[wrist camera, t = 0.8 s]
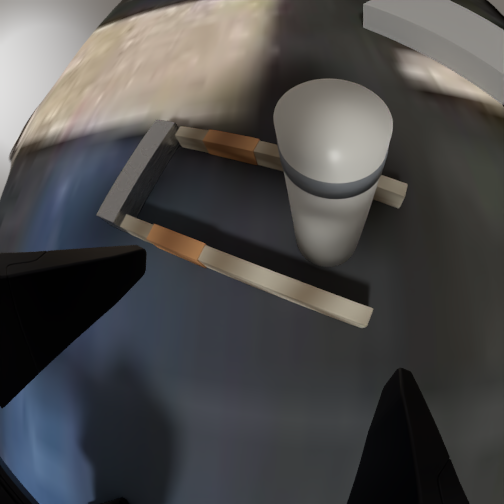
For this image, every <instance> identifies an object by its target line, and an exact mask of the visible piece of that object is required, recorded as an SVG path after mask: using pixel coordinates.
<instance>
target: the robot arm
mask: <svg viewBox="0 0 504 504" xmlns="http://www.w3.org/2000/svg"><path fill="white" fill-rule="evenodd" d="M145 270H146V250H145V249H143V248H141V247H139V246H137V245H130V246H113V247H98V248H83V249H68V250H54V251H39V252H19V253H0V406H1V408H3V407H5V406H6V405H7V404H8V403H9V402H10V401H11V400H12V399H13V398H14V397H15V396H16V395H17V394H18V393H19V392H20V391H21V390H22V389H23V388H24V387H25V386H26V385H27V384H28V383H29V382H31V381H32V380H33V379H34V378H35V377H36V376H37V375H38V374H39V373H40V372H41V371H42V370H43V369H44V368H45V367H46V366H47V365H48V364H49V363H50V362H51V361H53V360H54V359H55V358H56V357H57V356H58V355H59V354H60V353H61V352H62V351H63V350H64V349H66V348H67V347H68V346H69V345H70V344H71V343H72V342H73V341H74V340H75V339H77V338H78V337H79V336H80V335H81V334H82V333H83V332H84V331H86V330H87V329H88V328H89V327H90V326H91V325H92V324H93V323H95V322H96V321H97V320H98V319H99V318H100V317H101V316H103V315H104V314H105V313H106V312H107V311H108V310H109V309H111V308H112V307H113V306H114V305H115V304H116V303H117V302H118V301H119V300H120V299H121V298H122V297H123V296H124V295H125V294H126V293H127V292H128V291H129V290H130V289H131V288H132V287H133V286H134V285H135V284H136V283H137V282H138V281H139V279H140V278H141V277H142V276H143V275H144V273H145ZM449 458H450V457H449V454H448V452H447V449H446V447H445V445H444V442H443V440H442V437H441V435H440V433H439V430H438V428H437V426H436V424H435V421H434V419H433V417H432V415H431V412H430V410H429V408H428V406H427V404H426V402H425V399H424V397H423V395H422V393H421V391H420V389H419V387H418V385H417V383H416V381H415V379H414V377H413V375H412V373H411V372H410V371H408V370H406V369H403V368H398V369H397V370H396V371H395V373H394V374H393V375H392V377H391V378H390V379H389V381H388V382H387V383H386V385H385V386H384V388H383V390H382V393H381V396H380V399H379V402H378V405H377V408H376V411H375V414H374V417H373V420H372V423H371V425H370V428H369V431H368V435H367V438H366V442H365V446H364V450H363V453H362V457H361V461H360V464H359V468H358V471H357V474H356V477H355V481H354V484H353V487H352V490H351V493H350V496H349V499H348V502H347V504H469V501H468V499H467V497H466V495H465V493H464V490H463V488H462V486H461V484H460V482H459V479H458V477H457V474H456V472H455V469H454V467H453V464H452V462H451V460H450V459H449ZM121 501H122V502H123V503H122V502H121ZM0 504H39V503H38V502H37V501H36V500H35V498H34V497H33V496H32V495H31V494H30V493H29V492H28V491H27V490H26V488H25V487H24V486H23V485H22V484H21V483H20V481H19V480H18V479H17V478H16V476H15V475H14V474H13V473H12V472H11V470H10V469H9V468H8V466H7V465H6V464H5V462H4V461H3V460H2V458H1V457H0ZM101 504H129V503H128V502H127V500H126V499H124V498H118V499H114V500H111V501H108V502H104V503H101Z"/></svg>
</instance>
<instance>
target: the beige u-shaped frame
mask: <svg viewBox="0 0 504 504" xmlns="http://www.w3.org/2000/svg"><path fill="white" fill-rule="evenodd" d="M179 145H181V146H182V147H183V148H188V149H193V150H197V151H202V152H207V153H209V154H211V155H216V156H220V157H225V158H229V159H233V160H237V161H241V162H245V163H249V164H253V165H261V166H265V167H269V168H272V169H276V170H280V171H283V172H284V170H283V168H282V165H281V161H280V156H279V151H278V146H277V145H276V144H272V143H268V142H263V141H260V139H257V138H252V137H248V136H243V135H238V134H233V133H228V132H222V131H217V130H211V129H210V130H209V131H208V130H203V129H197V128H191V127H184V126H180V128H178V126H177V125H176V123H175V122H170V121H162V120H156V121H155V122H154V124H153V125H152V126H151V128H150V129H149V131H148V132H147V133H146V135H145V136H144V138H143V139H142V141H141V142H140V144H139V145H138V147H137V148H136V150H135V151H134V153H133V154H132V156H131V157H130V159H129V160H128V162H127V163H126V165H125V167H124V168H123V170H122V171H121V173H120V175H119V176H118V178H117V179H116V181H115V183H114V184H113V186H112V188H111V190H110V191H109V193H108V195H107V196H106V198H105V200H104V202H103V203H102V205H101V207H100V209H99V211H98V212H97V214H96V215H97V216H98V217H100V218H101V219H102V220H104V221H105V222H107V223H108V224H109V225H111V226H113V227H115V228H117V229H120V230H122V231H124V232H126V233H130V234H131V235H133V236H135V237H138V238H140V239H142V240H144V241H147V242H149V243H151V244H154V245H155V246H156V247H158V248H160V249H162V250H164V251H167V252H169V253H171V254H174V255H176V256H178V257H181V258H183V259H185V260H188V261H190V262H192V263H195V264H197V265H199V266H202V267H204V268H210V269H212V270H215V271H217V272H219V273H222V274H224V275H227V276H229V277H231V278H234V279H236V280H239V281H241V282H244V283H246V284H249V285H251V286H254V287H256V288H259V289H261V290H264V291H266V292H269V293H271V294H274V295H276V296H279V297H281V298H284V299H286V300H289V301H291V302H294V303H296V304H299V305H302V306H304V307H307V308H309V309H312V310H314V311H317V312H320V313H322V314H325V315H328V316H330V317H333V318H335V319H338V320H341V321H343V322H346V323H349V324H351V325H354V326H357V327H359V328H364V327H366V326H367V325H368V322H369V319H370V316H371V314H372V311H373V308H370V307H367V306H365V305H362V304H359V303H357V302H354V301H351V300H348V299H346V298H343V297H340V296H338V295H335V294H332V293H330V292H327V291H324V290H322V289H319V288H316V287H314V286H311V285H308V284H306V283H303V282H300V281H298V280H295V279H293V278H290V277H287V276H285V275H282V274H279V273H277V272H274V271H271V270H269V269H266V268H264V267H261V266H258V265H256V264H253V263H250V262H248V261H245V260H243V259H240V258H237V257H235V256H232V255H230V254H227V253H224V252H222V251H219V250H217V249H214V248H211V247H209V246H207V245H206V244H205V243H203V242H200V241H198V240H195V239H193V238H190V237H187V236H185V235H182V234H180V233H177V232H174V231H172V230H169V229H167V228H164V227H162V226H159V225H156V224H154V225H152V224H150V223H147V222H145V221H142V220H140V219H137V218H136V217H137V215H138V214H139V212H140V210H141V208H142V206H143V205H144V203H145V201H146V199H147V197H148V196H149V194H150V192H151V191H152V189H153V187H154V185H155V184H156V182H157V180H158V179H159V177H160V175H161V174H162V172H163V170H164V169H165V167H166V165H167V164H168V162H169V161H170V159H171V157H172V156H173V154H174V153H175V151H176V149H177V148H178V146H179ZM407 185H408V184H406V183H403V182H400V181H397V180H395V179H392V178H389V177H386V176H383V175H381V176H380V178H379V181H378V184H377V188H376V191H375V194H374V197H373V200H376V201H379V202H382V203H385V204H387V205H390V206H393V207H396V208H398V209H399V208H400V206H401V204H402V202H403V200H404V198H405V195H406V190H407Z"/></svg>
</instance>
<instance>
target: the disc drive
mask: <svg viewBox="0 0 504 504" xmlns="http://www.w3.org/2000/svg"><path fill="white" fill-rule="evenodd" d="M363 28H366V29H369V30H371V31H374V32H376V33H379V34H381V35H383V36H386V37H388V38H390V39H393V40H395V41H397V42H399V43H401V44H403V45H406V46H408V47H410V48H412V49H414V50H416V51H418V52H420V53H422V54H424V55H426V56H427V57H429V58H431V59H433V60H435V61H437V62H438V63H440V64H442V65H444V66H445V67H447V68H449V69H451V70H452V71H454V72H455V73H457V74H459V75H460V76H462V77H464V78H465V79H467V80H468V81H470V82H471V83H473V84H474V85H476V86H477V87H479V88H480V89H482V90H483V91H484V92H486V93H487V94H489V95H490V96H491V97H493V98H494V99H496V100H497V101H498V102H500V103H501V104H502V105H503V106H504V30H503V29H501V28H499V27H498V26H496V25H494V24H493V23H491V22H489V21H488V20H486V19H484V18H483V17H481V16H479V15H477V14H475V13H473V12H472V11H470V10H468V9H466V8H464V7H462V6H460V5H458V4H456V3H454V2H452V1H450V0H371V1H369V2H366V3H364V4H363Z"/></svg>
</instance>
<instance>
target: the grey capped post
mask: <svg viewBox="0 0 504 504" xmlns="http://www.w3.org/2000/svg"><path fill="white" fill-rule="evenodd" d="M273 120H274V126H275V131H276V136H277V146H278V151H279V156H280V161H281V165H282V168H283V170H284V176H285V181H286V186H287V191H288V197H289V202H290V208H291V213H292V219H293V225H294V230H295V236H296V242H297V246H298V249H299V251H300V252H301V254H302V255H303V256H304V257H305V258H306V259H307V260H308V261H310V262H311V263H313V264H315V265H318V266H322V267H333V266H337V265H340V264H342V263H344V262H346V261H347V260H348V259H349V258H350V257H351V256H352V255H353V253H354V252H355V250H356V247H357V245H358V242H359V239H360V236H361V233H362V230H363V228H364V225H365V222H366V219H367V216H368V213H369V210H370V207H371V204H372V200H373V197H374V194H375V191H376V188H377V184H378V181H379V178H380V176H381V174H382V171H383V168H384V165H385V161H386V158H387V154H388V149H389V142H390V139H391V135H392V130H393V120H392V116H391V113H390V111H389V109H388V107H387V106H386V104H385V103H384V102H383V100H382V99H381V98H380V97H378V96H377V95H376V94H375V93H374V92H372V91H371V90H369V89H367V88H365V87H363V86H361V85H359V84H356V83H354V82H350V81H346V80H341V79H316V80H311V81H307V82H304V83H301V84H299V85H297V86H295V87H293V88H291V89H290V90H289V91H287V92H286V93H285V94H284V95H283V96H282V97H281V98H280V100H279V101H278V103H277V105H276V107H275V110H274V115H273Z"/></svg>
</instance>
